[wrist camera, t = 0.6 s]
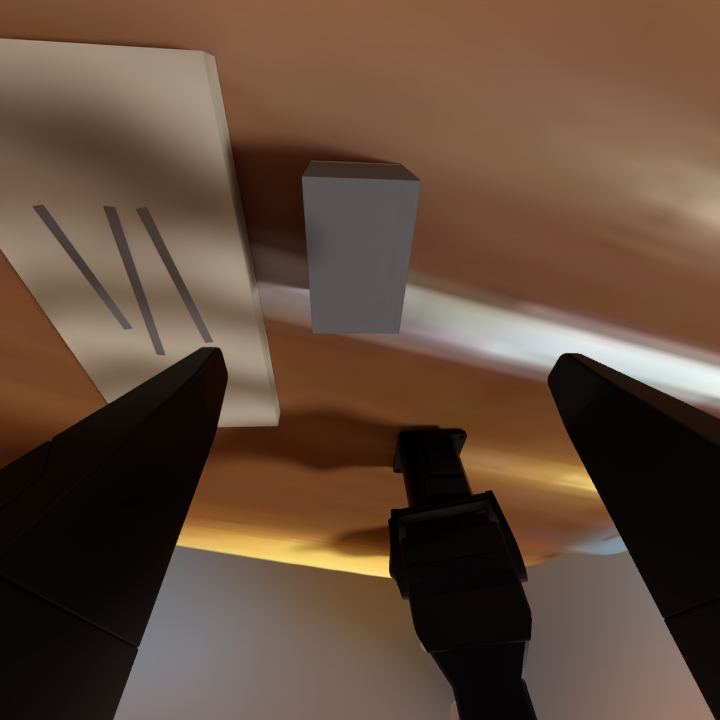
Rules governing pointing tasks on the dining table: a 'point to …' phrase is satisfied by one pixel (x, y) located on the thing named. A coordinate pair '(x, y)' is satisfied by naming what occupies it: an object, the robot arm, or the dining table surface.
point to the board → (131, 214)
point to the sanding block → (358, 243)
